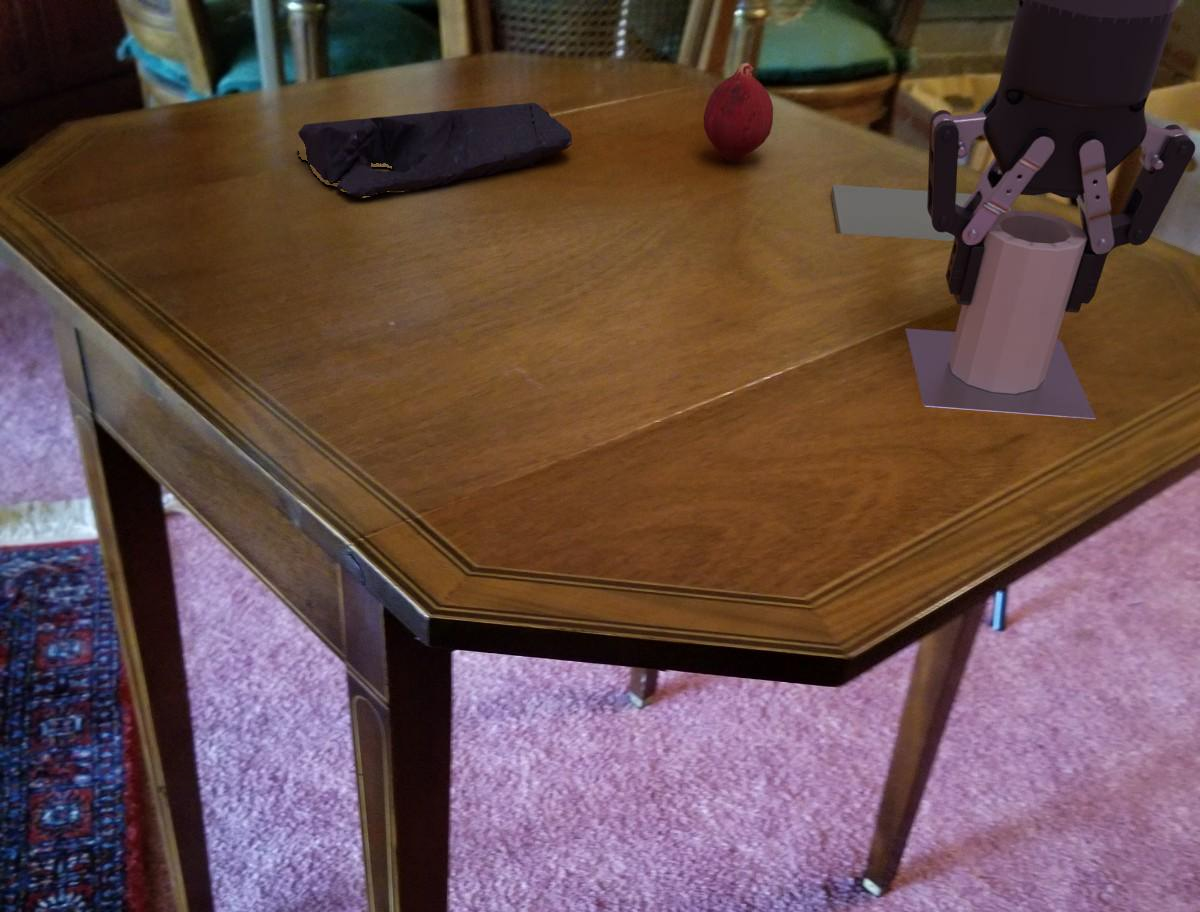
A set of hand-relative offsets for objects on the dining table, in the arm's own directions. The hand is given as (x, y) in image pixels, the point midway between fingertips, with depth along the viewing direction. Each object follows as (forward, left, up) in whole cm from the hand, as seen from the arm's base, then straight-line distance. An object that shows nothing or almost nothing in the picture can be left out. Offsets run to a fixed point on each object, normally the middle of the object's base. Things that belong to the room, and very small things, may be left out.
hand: (1014, 302), depth 71 cm
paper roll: (0, 0, -5) cm, 5 cm away
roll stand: (0, 0, -6) cm, 6 cm away
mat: (+1, -22, -6) cm, 23 cm away
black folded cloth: (+41, -33, -6) cm, 53 cm away
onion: (+16, -37, -6) cm, 41 cm away
